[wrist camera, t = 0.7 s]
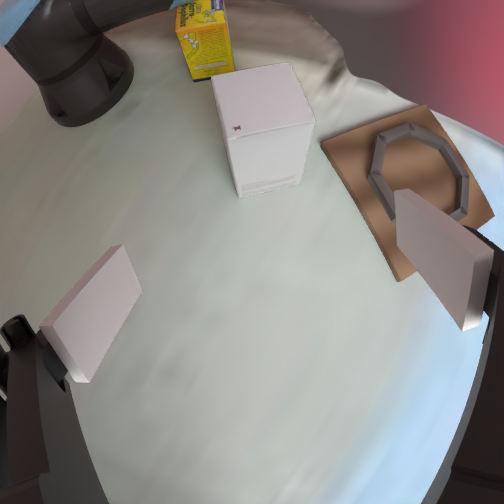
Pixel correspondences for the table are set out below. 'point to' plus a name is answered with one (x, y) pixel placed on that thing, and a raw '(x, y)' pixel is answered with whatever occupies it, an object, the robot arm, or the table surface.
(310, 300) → the table surface
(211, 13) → the supplement box
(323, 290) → the table surface
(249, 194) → the supplement box
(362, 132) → the mount plate
